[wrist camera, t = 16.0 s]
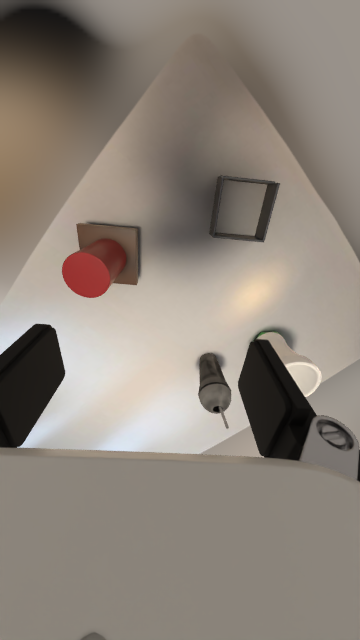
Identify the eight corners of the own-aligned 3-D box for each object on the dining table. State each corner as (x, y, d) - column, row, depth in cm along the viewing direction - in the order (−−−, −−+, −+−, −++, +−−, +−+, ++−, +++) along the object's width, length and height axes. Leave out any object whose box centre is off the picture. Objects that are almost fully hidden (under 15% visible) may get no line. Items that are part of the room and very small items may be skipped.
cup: (285, 357, 57) (315, 401, 45) (243, 360, 58) (261, 405, 45) (292, 321, 52) (328, 359, 40) (245, 325, 52) (267, 364, 40)
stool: (87, 221, 40) (76, 224, 36) (140, 226, 41) (136, 229, 37) (92, 272, 45) (83, 280, 41) (140, 276, 46) (136, 285, 42)
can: (88, 236, 37) (57, 250, 28) (125, 240, 37) (108, 254, 28) (92, 272, 40) (66, 296, 31) (126, 275, 41) (111, 299, 31)
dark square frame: (217, 176, 37) (222, 174, 33) (269, 182, 38) (280, 180, 34) (209, 233, 42) (212, 237, 38) (255, 238, 42) (264, 242, 38)
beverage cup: (189, 357, 57) (194, 427, 40) (212, 344, 55) (229, 412, 38) (203, 374, 60) (214, 446, 43) (226, 362, 58) (248, 432, 41)
